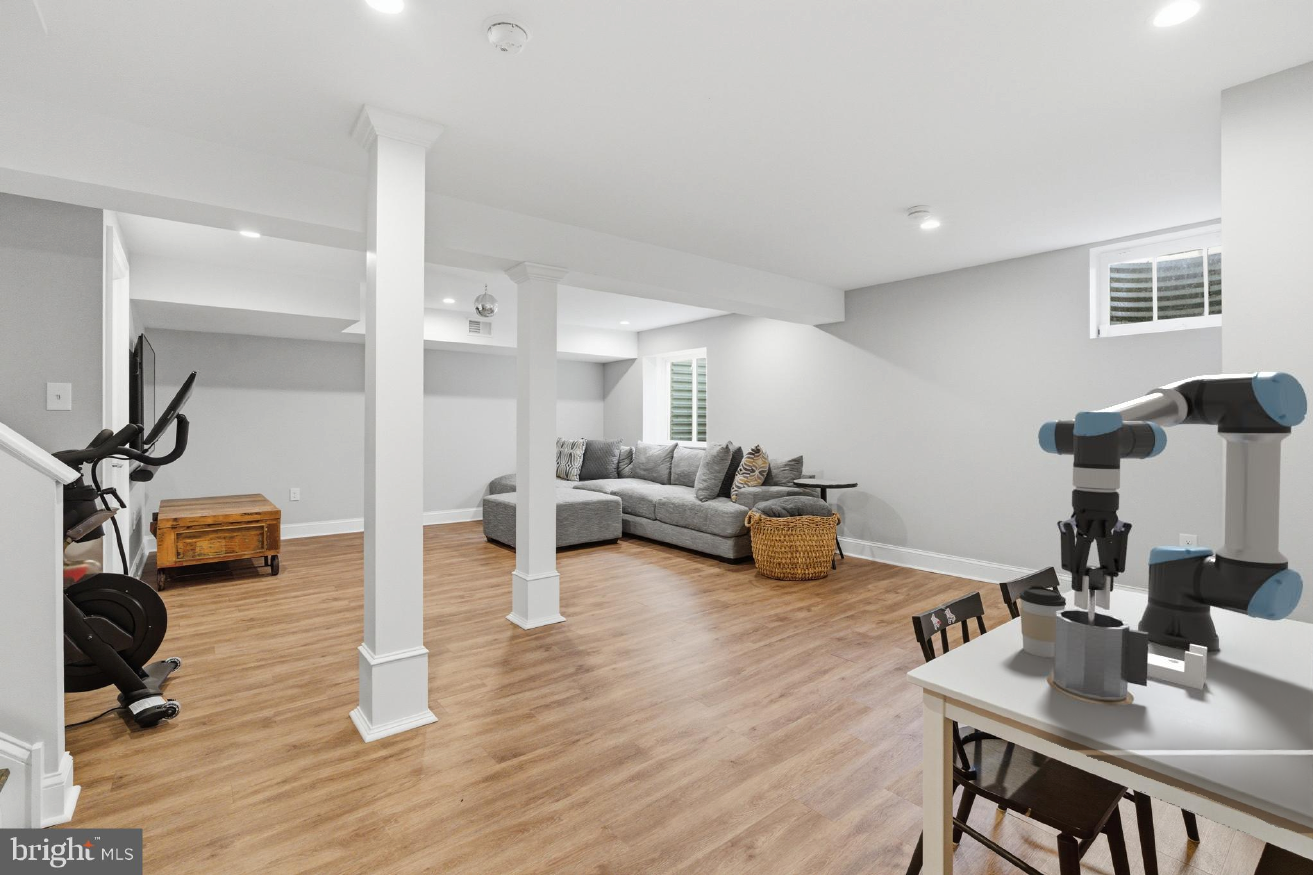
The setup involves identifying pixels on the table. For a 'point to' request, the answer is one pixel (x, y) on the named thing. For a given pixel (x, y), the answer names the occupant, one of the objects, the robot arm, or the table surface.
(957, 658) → the table surface
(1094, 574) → the plunger
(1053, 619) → the coffee cup
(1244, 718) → the table surface
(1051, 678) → the trivet
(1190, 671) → the bracket
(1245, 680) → the table surface
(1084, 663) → the grey hollow faceted piece
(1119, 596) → the table surface
